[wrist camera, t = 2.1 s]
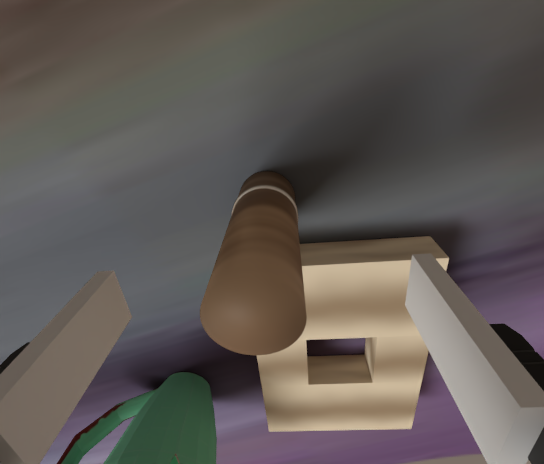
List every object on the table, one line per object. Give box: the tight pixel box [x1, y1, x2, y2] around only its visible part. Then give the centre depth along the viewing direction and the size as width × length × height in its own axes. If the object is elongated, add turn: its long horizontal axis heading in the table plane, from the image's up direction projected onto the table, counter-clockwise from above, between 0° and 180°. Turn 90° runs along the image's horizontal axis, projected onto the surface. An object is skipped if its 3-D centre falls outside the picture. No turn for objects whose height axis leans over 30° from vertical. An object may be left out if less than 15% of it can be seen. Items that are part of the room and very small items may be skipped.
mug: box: [57, 372, 217, 464], centre depth 28 cm, size 15×10×10 cm
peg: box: [200, 171, 307, 355], centre depth 17 cm, size 4×4×12 cm
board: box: [257, 236, 449, 432], centre depth 27 cm, size 20×14×3 cm
